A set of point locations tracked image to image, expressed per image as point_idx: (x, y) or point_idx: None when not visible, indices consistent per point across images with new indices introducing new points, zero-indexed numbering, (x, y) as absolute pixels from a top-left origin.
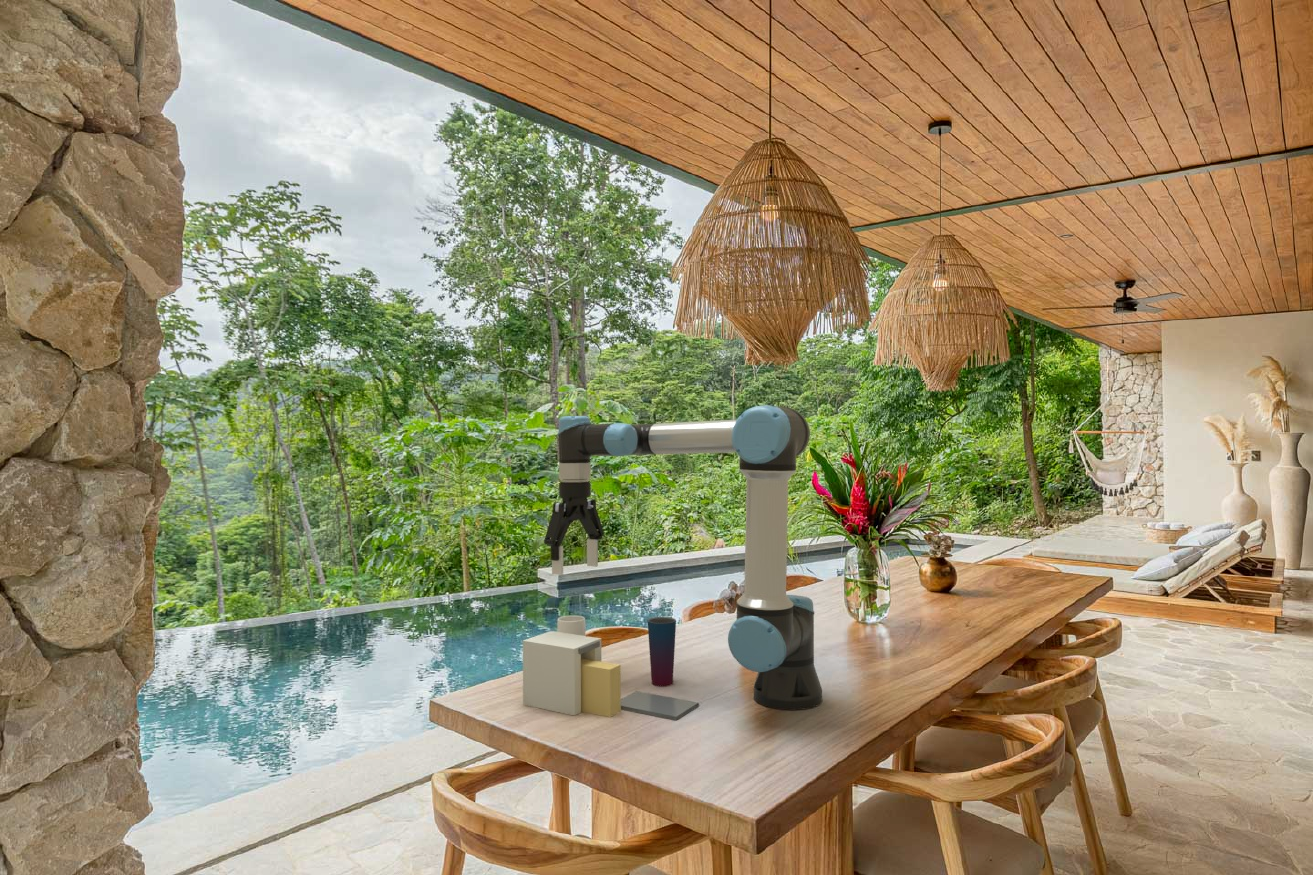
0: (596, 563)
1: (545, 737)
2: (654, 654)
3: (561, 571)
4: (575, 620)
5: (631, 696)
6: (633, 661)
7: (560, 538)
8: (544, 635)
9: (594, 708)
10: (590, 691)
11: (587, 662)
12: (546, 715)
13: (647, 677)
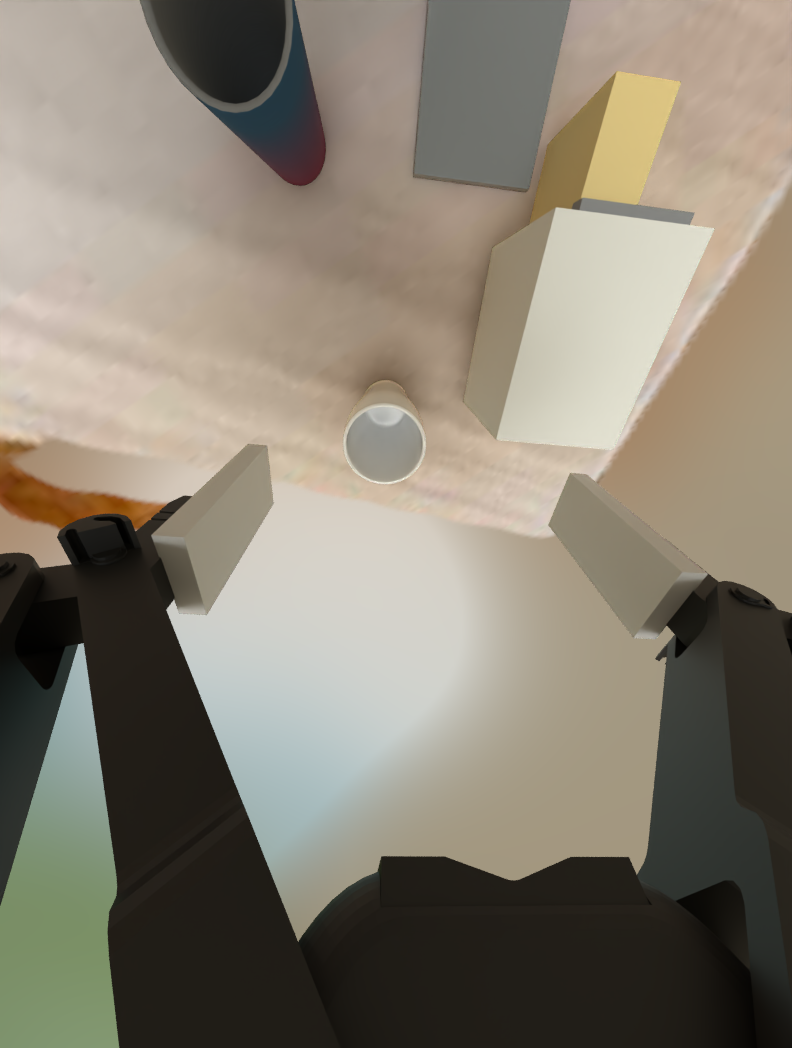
0: (256, 451)
1: (729, 245)
2: (314, 107)
3: (594, 481)
4: (348, 450)
5: (461, 160)
6: (189, 344)
7: (770, 633)
8: (549, 428)
9: None
10: None
11: None
12: None
13: (275, 226)
